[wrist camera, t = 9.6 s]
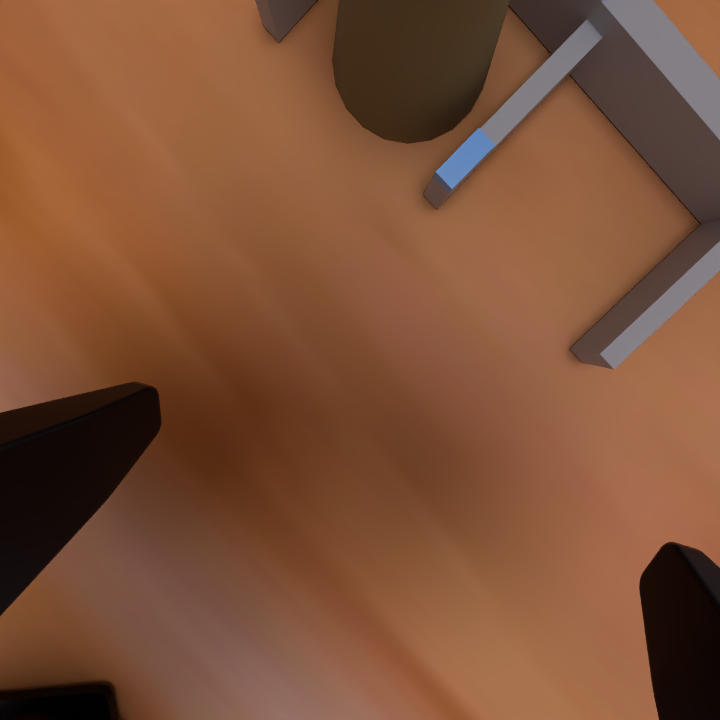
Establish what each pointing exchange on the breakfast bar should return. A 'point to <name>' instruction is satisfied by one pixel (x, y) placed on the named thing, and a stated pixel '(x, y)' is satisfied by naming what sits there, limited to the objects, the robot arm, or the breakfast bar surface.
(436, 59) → the cork
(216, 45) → the breakfast bar surface
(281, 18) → the slotted rack
